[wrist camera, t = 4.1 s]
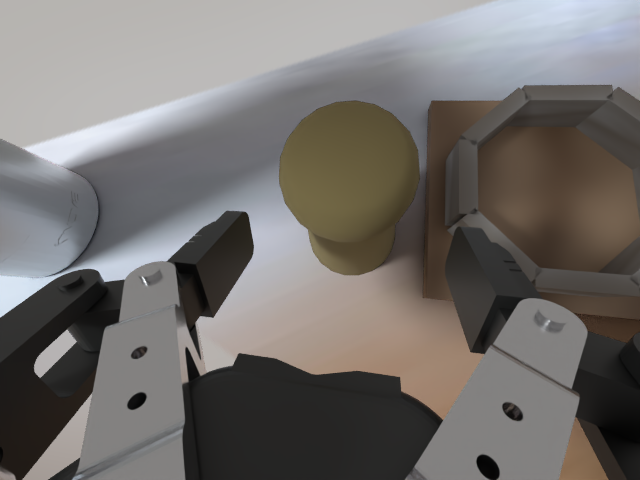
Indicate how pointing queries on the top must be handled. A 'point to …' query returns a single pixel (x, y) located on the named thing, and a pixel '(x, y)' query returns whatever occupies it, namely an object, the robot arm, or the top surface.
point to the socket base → (542, 191)
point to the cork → (349, 182)
